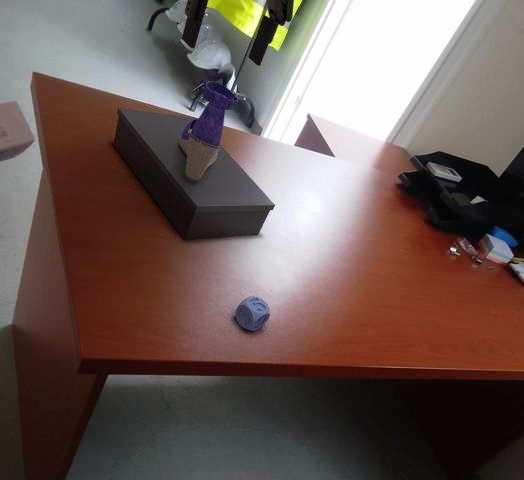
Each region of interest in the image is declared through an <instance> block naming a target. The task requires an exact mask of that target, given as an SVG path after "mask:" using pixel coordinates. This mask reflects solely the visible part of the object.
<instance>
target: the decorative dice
mask: <svg viewBox="0 0 524 480" xmlns="http://www.w3.org/2000/svg"><path fill="white" fill-rule="evenodd" d="M270 316H271V311H270V307H269V305H268V303H267V302H266V301H265V300H264V299H262V298H261V297H259V296H255V295H251V296H248V297H246V298H244V299H243V300H242V301H241V302H240V303H239V304H238V305H237V306H236V309H235V318H236V321H237V323H238V325H239V326H240V327H242V328H243V329H245V330H247V331H251V332H253V331H257V330H259V329H261V328H262V327H263V326H264V325H265V324H266V323H267V322H268V321H269V319H270Z"/></svg>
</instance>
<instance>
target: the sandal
mask: <svg viewBox="0 0 524 480" xmlns="http://www.w3.org/2000/svg"><path fill="white" fill-rule="evenodd" d="M202 97H203V98H204V99H205V100H206V101H207V104H206V106H205V107H204V110H203V111H202V112H201V114H200V115H199V117H198V118H197V119H194V120H192V121H191V122H190V123H189V124H188V125H187V126H186V127H185V129H184V131H183V133H182V134H181V136H180V139H179V146H180V147H181V149H182V150H183V152H184V153H185V154H186V156H187V164H186V173H185V178H186V179H187V180H188V181H190V182H193V183H197V182H198V181H199V180H200V178H201V176H202V175H203V173H204V171H205V170H206V169H207V168H208V167H209V166H211V165H213V164H214V162H215V161H216V159H217V157H218V150H219V148H220V144H221V143H222V140H223V134H224V133H223V132H224V126H225V114H226V111H231V110H234V109H235V108H236V107H237V105H238V103H239V98H238V93H237V92H234V93H233V92H232V90H230V89H229V87H227V86H226V85H223V84H222V83H220V82H217V81H212V80H209V81H206V83H205V85H204V89H203V92H202ZM221 145H222V144H221Z"/></svg>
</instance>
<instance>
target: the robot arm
mask: <svg viewBox="0 0 524 480" xmlns="http://www.w3.org/2000/svg"><path fill="white" fill-rule="evenodd" d="M208 4H209V0H186V4H185V8H184V15H185V16H186V20H185V24H184V28H183V32H182V35H181V40H182V41H183V42H184V43H185V44H186V45H187V46H188V47H189V48H191V49H195V48H196V46H197V42H198V38H199V35H200V32H201V27H202V24H203V21H204V18H205V14H206V11H207V7H208ZM294 4H295V0H266V7H267V13H268V16H267V15H265V14H263V16H262V18H261V21H260V24H259V26H258V29H257V31H256V35H255V37H254V39H253V43H252V45H251V48H250V50H249V53H248V55H247V57H248V59H249V60H250V61H251V62H252V63H254V64H255V65H256V66H258V67H260V66H261V65H262V62H263V60H264V57H265V54H266V52H267V50H268V47H269V45H271V44H272V42H273V40H274V38H275V35H276V32H277V30H278V27H279V26H280V27H284V26H285V24H286V22H287V23H290V22H292V20H293V16H294V15H293V14H294V6H295V5H294Z"/></svg>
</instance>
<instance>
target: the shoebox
mask: <svg viewBox="0 0 524 480" xmlns="http://www.w3.org/2000/svg"><path fill="white" fill-rule="evenodd" d="M116 114H117V116H118V117H117V123H116V127H115V128H116V129H115V133H114V137H113V141H112V142H113V143H112V144H113V146H114V147H115V148H116V150H117V151H118V153H119V154H120V155H121V157H123V159H124V160H125V163H127V165H128V166H129V167H130V168H131V170H132V172H134V174H135V176H137V178H138V179H139V181H140V182H141V184H143V186H144V187H145V188H146V190H147V191H148V192H149V194H150V195H151V197H152V198H153V199H154V201H155V202H156V203H157V204H158V205H159V207H160V208H161V210H162V211H163V212H164V214H165V215H166V217H167V218H168V220H170V222H171V223H172V224H173V226H174V227H175V229H176V230H177V232H179V233H180V235H181V236H182V238H183V239H184V240H185V241H186V240H187V241H188V240H200V239H215V238H216V239H217V238H229V237H242V236H243V237H244V236H256V235H259V234H260V232H261V230H262V228H263V226H264V224H265V222H266V220H267V218H268V216H269V214H270V212H271V211H273V210H274V209H275V207H276V204H275V203H274V202H273V201H272V200H271V199H270V198H269V196H267V194H266V193H265V192H264V191H263V190H262V188H260V187H259V185H258V184H257V183H256V182H255V181H254V180H253V178H251V176H250V175H249V174H248V173H247V172H246V171H245V169H244V168H243V167H242V166H240V164H239V163H238V162H237V161H236V159H234V157H232V155H231V154H230V153H229V152H228V151H227V150H226V148H224V146H222V144H220V148H219V150H218V157H217V159H216V161H215V162H214V164H213V165H211V166H209V167H208V168H207V169H206V170H205V171H204V173H203V175H202V176H201V178H200V180H199V181H198V182H197V183H193V182H190V181H188V180H187V179H186V178H185V173H186V164H187V156H186V154H185V153H184V152H183V150H182V149H181V147H180V146H179V139H180V136H181V134H182V133H183V131H184V129H185V127H186V126H187V125H188V124H189V123H190V122H191V121H192V120H194V119H198V118H197V117H191V116H184V115H175V114H169V113H163V112H161V113H160V112H155V111H154V112H153V111H147V110H139V109H131V108H125V107H117V111H116Z"/></svg>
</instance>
